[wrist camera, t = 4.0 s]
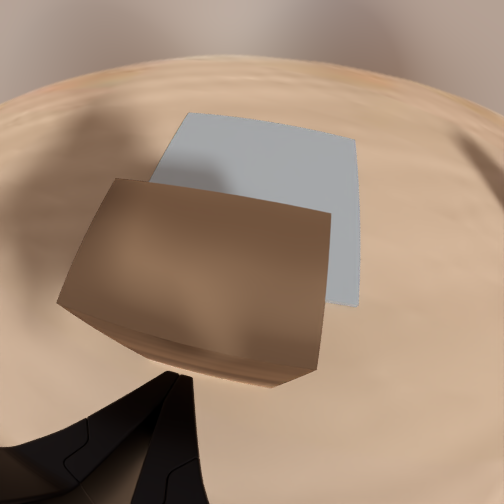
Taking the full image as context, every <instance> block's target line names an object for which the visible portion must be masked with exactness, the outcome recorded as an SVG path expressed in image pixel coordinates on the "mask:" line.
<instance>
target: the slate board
mask: <svg viewBox="0 0 504 504" xmlns="http://www.w3.org/2000/svg"><path fill="white" fill-rule="evenodd" d="M149 182H152V183H160V184H167V185H174V186H181V187H188V188H195V189H202V190H208V191H215V192H221V193H227V194H233V195H239V196H245V197H250V198H256V199H262V200H267V201H272V202H278V203H283V204H288V205H293V206H298V207H303V208H308V209H313V210H318V211H323V212H327V213H331V232H330V249H329V263H328V275H327V287H326V297H325V302H328V303H334V304H340V305H346V306H352V307H357V306H358V305H359V285H360V206H359V184H358V168H357V155H356V144H355V140H354V139H350V138H346V137H342V136H338V135H333V134H329V133H325V132H320V131H315V130H311V129H306V128H301V127H296V126H290V125H285V124H279V123H273V122H267V121H260V120H254V119H246V118H239V117H231V116H222V115H212V114H201V113H188V115H187V116H186V118H185V119H184V121H183V123H182V124H181V126H180V128H179V129H178V131H177V132H176V134H175V136H174V138H173V139H172V141H171V143H170V144H169V146H168V148H167V150H166V151H165V153H164V155H163V157H162V158H161V160H160V162H159V164H158V166H157V167H156V169H155V171H154V173H153V175H152V177H151V179H150V181H149Z"/></svg>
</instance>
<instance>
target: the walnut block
mask: <svg viewBox="0 0 504 504" xmlns="http://www.w3.org/2000/svg"><path fill="white" fill-rule="evenodd" d="M330 232H331V213H327V212H323V211H318V210H313V209H308V208H303V207H298V206H293V205H288V204H283V203H278V202H272V201H267V200H262V199H256V198H250V197H245V196H239V195H233V194H227V193H221V192H215V191H208V190H202V189H195V188H188V187H181V186H174V185H167V184H160V183H152V182H144V181H136V180H128V179H119V178H116V179H115V181H114V182H113V184H112V186H111V188H110V189H109V191H108V193H107V195H106V196H105V198H104V200H103V202H102V204H101V206H100V207H99V209H98V211H97V213H96V215H95V217H94V219H93V221H92V223H91V225H90V227H89V229H88V231H87V233H86V235H85V237H84V239H83V241H82V243H81V245H80V247H79V250H78V252H77V254H76V256H75V258H74V261H73V263H72V265H71V268H70V270H69V272H68V275H67V277H66V280H65V282H64V285H63V287H62V290H61V292H60V295H59V297H58V300H57V304H59V305H60V306H62V307H63V308H64V309H66V310H67V311H69V312H70V313H72V314H73V315H75V316H76V317H78V318H79V319H81V320H82V321H84V322H86V323H87V324H89V325H90V326H92V327H93V328H95V329H97V330H98V331H100V332H102V333H103V334H105V335H107V336H108V337H110V338H112V339H113V340H115V341H117V342H118V343H120V344H122V345H124V346H126V347H127V348H129V349H131V350H133V351H135V352H136V353H138V354H140V355H142V356H144V357H146V358H148V359H149V360H152V361H155V362H159V363H162V364H165V365H169V366H173V367H176V368H180V369H184V370H187V371H191V372H195V373H199V374H203V375H207V376H212V377H216V378H221V379H225V380H230V381H235V382H239V383H245V384H250V385H255V386H261V387H266V388H273V387H275V386H278V385H281V384H283V383H286V382H288V381H291V380H293V379H296V378H298V377H301V376H303V375H306V374H308V373H310V372H313V371H315V370H317V364H318V356H319V349H320V341H321V334H322V325H323V316H324V307H325V297H326V287H327V275H328V263H329V249H330Z"/></svg>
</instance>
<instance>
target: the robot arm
mask: <svg viewBox="0 0 504 504" xmlns="http://www.w3.org/2000/svg"><path fill="white" fill-rule="evenodd" d="M0 504H209V501H208V498H207V494H206V491H205V487H204V484H203V478H202V472H201V465H200V459H199V448H198V438H197V427H196V416H195V403H194V389H193V378H192V377H190V376H186V375H182V374H181V375H179V374H178V373H175V372H171V371H165V372H164V373H162V374H161V375H159V376H157V377H156V378H154V379H152V380H151V381H149V382H147V383H146V384H144V385H142V386H141V387H139V388H137V389H136V390H134V391H132V392H130V393H129V394H127V395H125V396H124V397H122V398H120V399H118V400H117V401H115V402H113V403H111V404H110V405H108V406H106V407H104V408H103V409H101V410H99V411H97V412H95V413H94V414H92V415H90V416H88V417H87V418H84V419H82V420H81V421H79V422H77V423H75V424H73V425H71V426H69V427H67V428H65V429H62V430H60V431H57V432H55V433H52V434H50V435H47V436H44V437H42V438H39V439H36V440H33V441H30V442H27V443H24V444H21V445H17V446H13V447H0Z"/></svg>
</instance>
